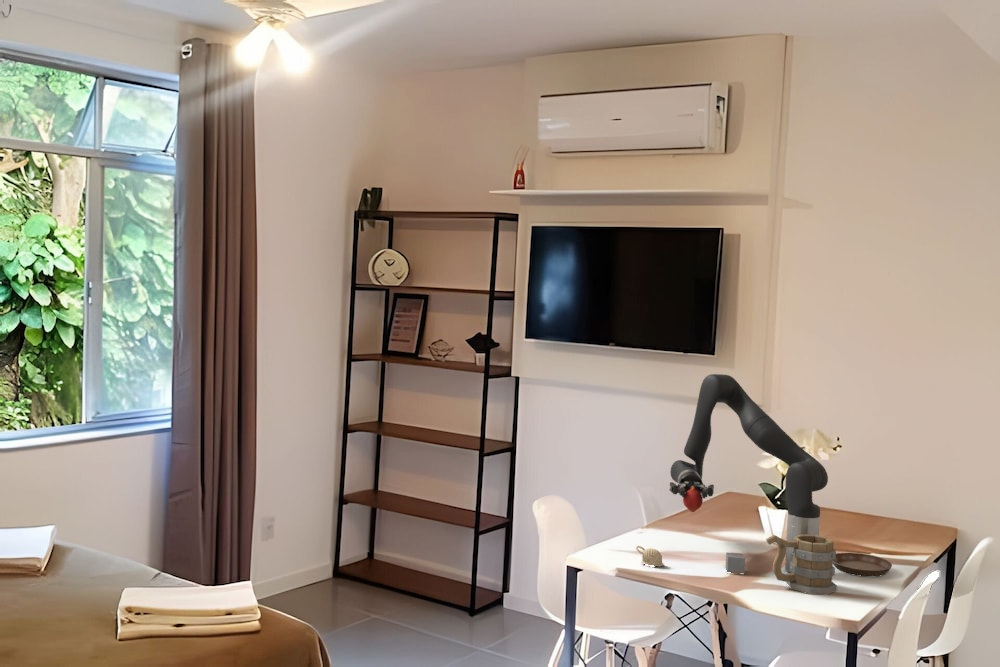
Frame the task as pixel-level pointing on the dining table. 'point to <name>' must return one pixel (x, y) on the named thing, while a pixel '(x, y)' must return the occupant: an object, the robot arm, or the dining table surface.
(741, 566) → the grey block
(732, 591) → the dining table surface
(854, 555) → the plant saucer
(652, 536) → the dining table surface
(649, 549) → the decorative ornament
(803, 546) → the tankard
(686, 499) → the red squash
